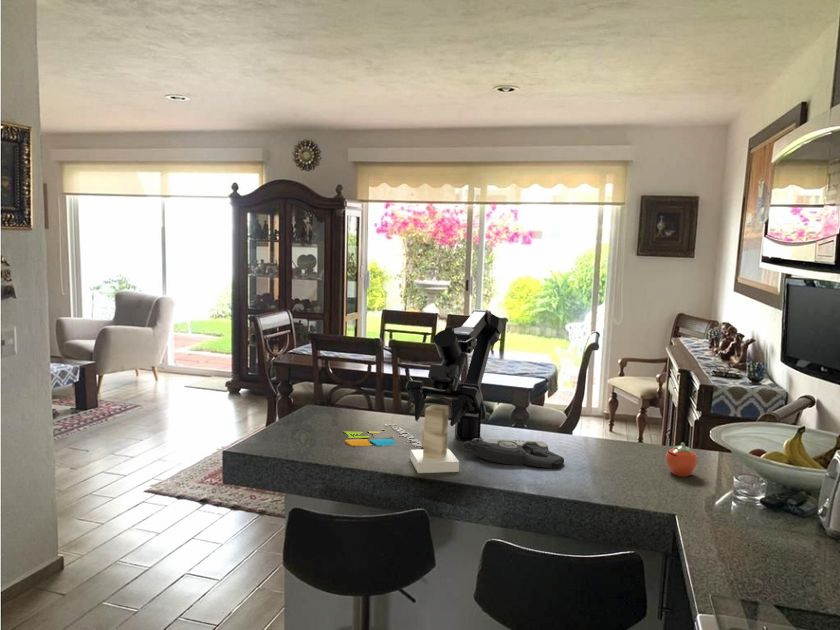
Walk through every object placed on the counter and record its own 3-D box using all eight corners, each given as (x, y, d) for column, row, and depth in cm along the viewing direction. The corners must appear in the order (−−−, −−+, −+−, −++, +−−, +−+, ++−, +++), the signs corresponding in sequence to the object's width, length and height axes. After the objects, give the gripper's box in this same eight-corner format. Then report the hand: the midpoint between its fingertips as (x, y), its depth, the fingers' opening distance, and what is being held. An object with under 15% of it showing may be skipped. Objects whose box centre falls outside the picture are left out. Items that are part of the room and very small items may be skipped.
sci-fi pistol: (570, 458, 150) (548, 436, 165) (476, 454, 146) (461, 432, 160) (568, 475, 151) (546, 451, 165) (473, 472, 146) (459, 448, 161)
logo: (426, 444, 165) (357, 451, 156) (426, 447, 165) (357, 455, 156) (394, 422, 185) (331, 427, 177) (394, 425, 185) (331, 431, 177)
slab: (448, 460, 155) (448, 448, 155) (458, 473, 146) (459, 461, 145) (410, 461, 153) (410, 449, 153) (418, 475, 144) (418, 462, 143)
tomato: (658, 468, 153) (660, 438, 152) (685, 468, 154) (688, 437, 153) (674, 479, 145) (677, 447, 145) (703, 479, 146) (705, 447, 146)
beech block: (429, 450, 152) (431, 404, 151) (446, 453, 150) (448, 407, 149) (422, 456, 148) (425, 408, 146) (440, 459, 146) (442, 411, 145)
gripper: (409, 348, 154) (389, 399, 145) (479, 355, 147) (463, 409, 138) (420, 374, 162) (402, 424, 153) (487, 381, 155) (472, 434, 146)
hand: (433, 422), depth 147 cm, fingers open, 9 cm apart
